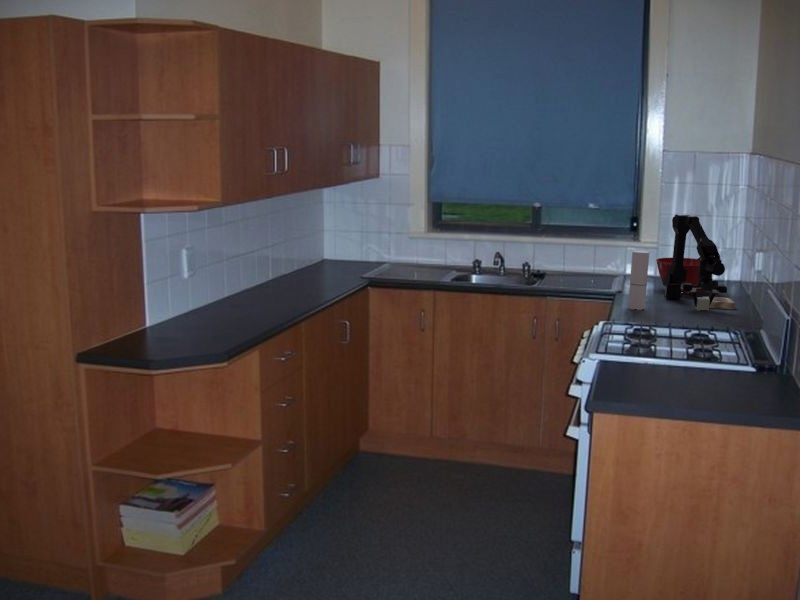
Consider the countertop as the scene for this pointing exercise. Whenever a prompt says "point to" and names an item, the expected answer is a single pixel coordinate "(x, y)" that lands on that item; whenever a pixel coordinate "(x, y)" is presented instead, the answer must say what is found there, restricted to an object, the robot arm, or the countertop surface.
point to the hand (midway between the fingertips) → (702, 307)
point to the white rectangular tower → (638, 280)
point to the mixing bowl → (688, 264)
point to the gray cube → (702, 303)
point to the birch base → (722, 303)
